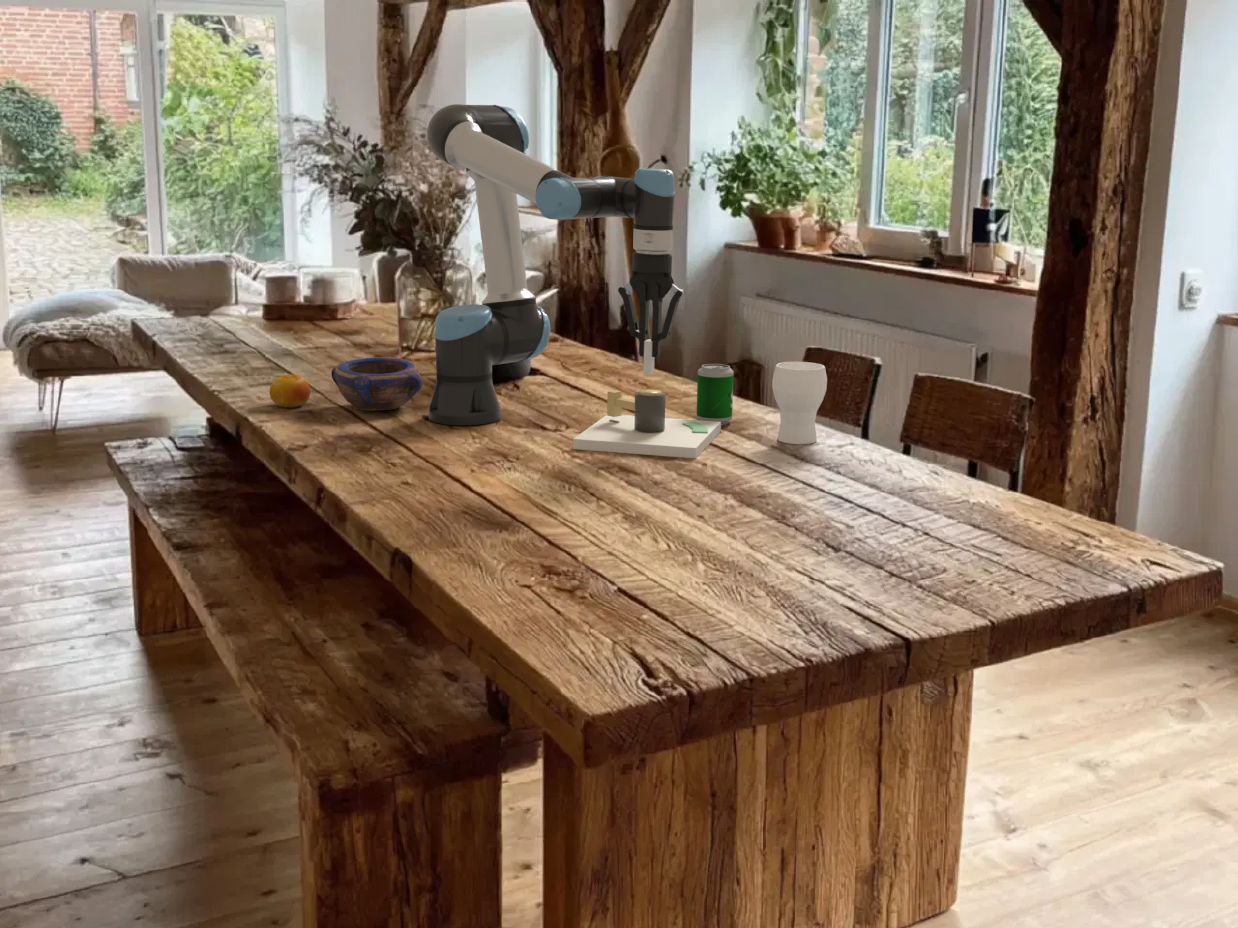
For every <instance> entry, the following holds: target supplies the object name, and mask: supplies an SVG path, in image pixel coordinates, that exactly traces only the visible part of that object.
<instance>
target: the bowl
mask: <svg viewBox="0 0 1238 928" xmlns="http://www.w3.org/2000/svg"><path fill="white" fill-rule="evenodd" d="M330 375H331V378H332V380H333V382H334V383H335V385H336V386H337V387H338V390H339V392H340V394H341V395H342V396H343V398H344V399H345V400H346V401H347V403H349V404H350V405H352V406H353V407H354V408H356V409H358V410H360V411H368V412H375V411H386V410H387V411H388V410H396V409H399V408H400V407H402V406H404V405H406V403H408V402H409V401H410V400H411V399H413V397H414V396H415V395H416V394H417V393H419V391H420V390H421V389H422V388H423V386H424V385H423V384H424V383H423V382H424V381H423V377H422V376H421V374H420V373H419V369H418V367H417V365H415V363H413V362H411V361H409V360H406V359H401V358H397V357H389V356H388V357H386V356H383V357H382V356H381V357H380V356H379V357H378V356H377V357H364V358H362V357H361V358H355V359H350V360H346V361H343V362H341V363H339V364H337V365H336V366H335V367H333V368H332V370H331V373H330Z"/></svg>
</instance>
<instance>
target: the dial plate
mask: <svg viewBox="0 0 1238 928" xmlns="http://www.w3.org/2000/svg"><path fill="white" fill-rule="evenodd" d="M634 420H635V415H628V414H627V415H626V414H621V416H617V417H611V416H607V414H606V415H605V416H602V418H600V419H599V420H598V421H596V422H595V423H593V424H592V425H591V426H589V427H587V429H585V430H583V431H581V433H579V434H578V435H577V436H575V437H574V438H573V442H572V443H573V444H572V445H573V446H572V447H573V448H572V449H573V450H580V451H581V450H582V451H594V452H595V451H596V452H608V453H619V454H632V455H634V454H635V455H646V456H659V457H660V456H661V457H670V458H671V457H672V458H673V457H675V458H684V459H697V458H698V457H699V456H700V454H702V452H703V451H704V450H705V449H707V447H708V446H709V445H710V444H711V443H712V442H713V440H714V439H715V438H717V437H718V435H719V434H720V433H721V432H722V425H721V422H716V421H702V420H698V419H685V418H672V417H671V418H670V417H665V429H664V430H663V431H658V432H643V431H638V430H635V429H634Z"/></svg>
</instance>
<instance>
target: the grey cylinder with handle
mask: <svg viewBox="0 0 1238 928" xmlns="http://www.w3.org/2000/svg"><path fill="white" fill-rule="evenodd" d="M622 393H623V392H622V391H620V390H616V389H612V390H607V400H606V402H607V407H606V408H607V414H606V415H607V416H611V417H617V416H621V415H622V409H625V410H630V411H634V416H635V420H634V429H635V430H638V431H643V432H658V431H663V430H664V429H665V418H666V393H665V392H663V391H661V390H658V389H641V390H638V391H636V392H635V393H634V399H629V398H625V397H622Z"/></svg>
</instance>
